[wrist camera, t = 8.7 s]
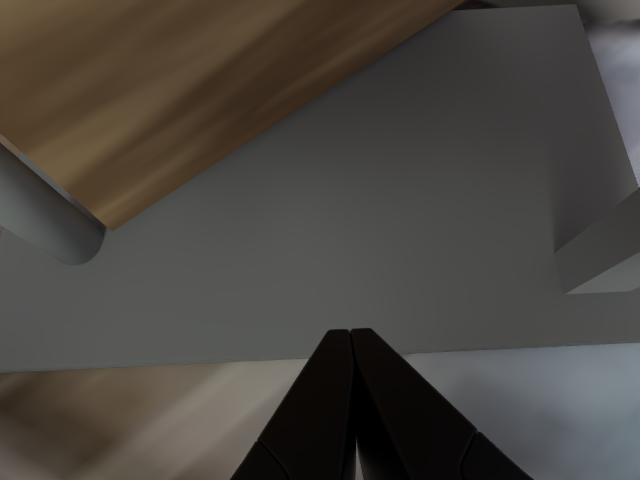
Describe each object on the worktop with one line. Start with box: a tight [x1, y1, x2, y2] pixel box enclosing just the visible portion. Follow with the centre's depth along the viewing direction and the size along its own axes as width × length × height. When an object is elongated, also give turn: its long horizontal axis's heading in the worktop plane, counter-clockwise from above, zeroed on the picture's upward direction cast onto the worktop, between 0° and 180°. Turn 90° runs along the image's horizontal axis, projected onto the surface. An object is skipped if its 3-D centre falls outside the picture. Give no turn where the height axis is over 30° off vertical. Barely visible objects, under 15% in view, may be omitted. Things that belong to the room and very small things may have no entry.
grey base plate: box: [0, 4, 640, 373], centre depth 17 cm, size 20×32×16 cm, turn 93°
